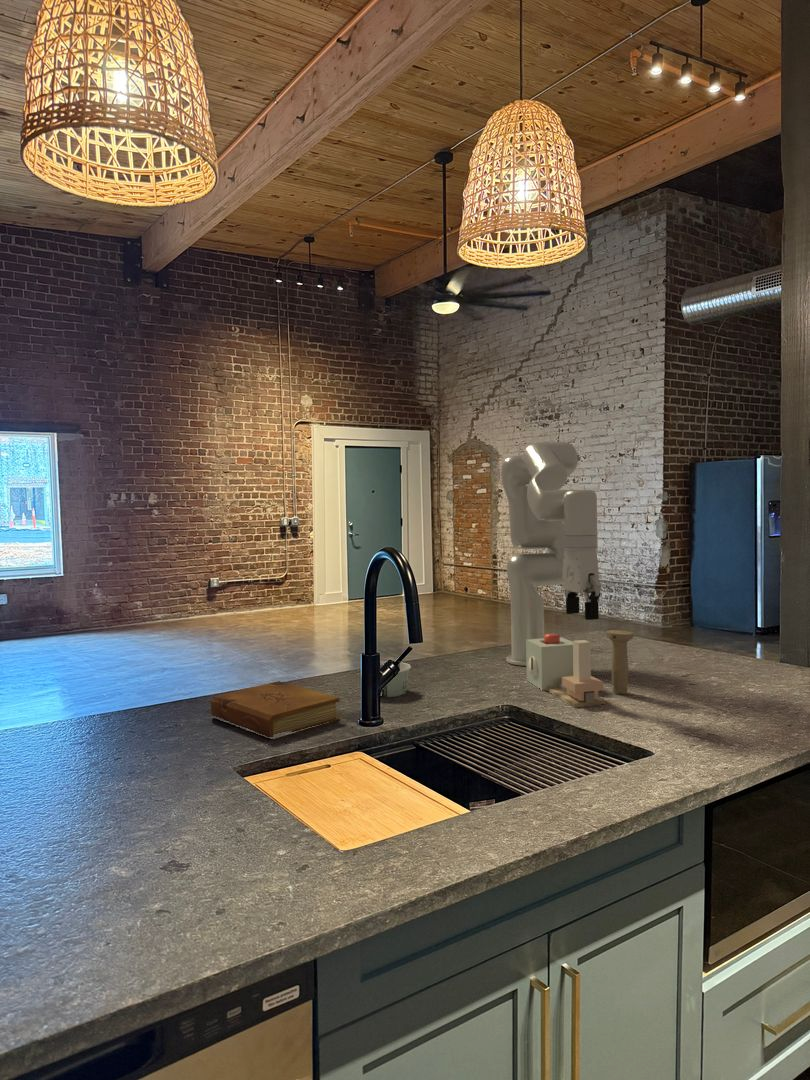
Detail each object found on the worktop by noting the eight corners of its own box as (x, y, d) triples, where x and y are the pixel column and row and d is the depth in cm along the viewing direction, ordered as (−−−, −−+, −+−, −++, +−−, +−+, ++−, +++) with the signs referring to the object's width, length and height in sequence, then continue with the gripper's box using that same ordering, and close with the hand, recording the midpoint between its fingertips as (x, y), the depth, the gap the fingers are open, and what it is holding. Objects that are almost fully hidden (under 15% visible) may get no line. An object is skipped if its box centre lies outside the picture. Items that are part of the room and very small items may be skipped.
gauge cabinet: (524, 681, 197) (523, 639, 196) (561, 678, 199) (561, 637, 199) (539, 690, 187) (538, 647, 186) (578, 687, 190) (578, 644, 189)
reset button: (541, 645, 194) (541, 634, 194) (555, 644, 195) (555, 633, 195) (547, 648, 190) (547, 636, 190) (562, 647, 191) (562, 635, 191)
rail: (546, 690, 187) (546, 678, 187) (576, 688, 189) (576, 676, 189) (574, 707, 172) (574, 694, 172) (606, 704, 174) (605, 691, 174)
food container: (411, 698, 184) (410, 671, 183) (362, 699, 184) (361, 672, 183) (411, 685, 196) (411, 660, 195) (366, 686, 196) (365, 661, 195)
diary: (211, 721, 170) (210, 696, 170) (279, 704, 183) (278, 681, 183) (270, 742, 154) (269, 715, 154) (340, 721, 167) (339, 696, 167)
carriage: (562, 693, 179) (561, 639, 178) (589, 691, 181) (588, 637, 180) (575, 701, 172) (574, 645, 172) (603, 698, 174) (602, 643, 173)
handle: (626, 697, 179) (626, 635, 178) (603, 692, 184) (602, 632, 183) (637, 693, 183) (636, 632, 182) (613, 688, 187) (613, 629, 186)
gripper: (550, 542, 182) (551, 612, 183) (582, 545, 165) (584, 622, 166) (578, 541, 184) (580, 610, 184) (614, 544, 167) (615, 620, 168)
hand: (582, 616), depth 175 cm, fingers open, 9 cm apart
